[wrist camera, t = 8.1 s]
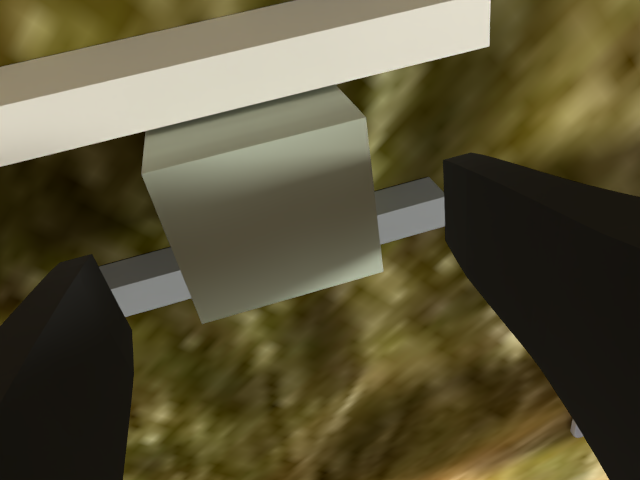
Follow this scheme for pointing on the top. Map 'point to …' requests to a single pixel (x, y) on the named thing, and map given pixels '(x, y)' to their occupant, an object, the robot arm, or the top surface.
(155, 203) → the cabinet block
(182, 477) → the top surface
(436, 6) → the board
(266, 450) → the top surface
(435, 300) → the top surface
